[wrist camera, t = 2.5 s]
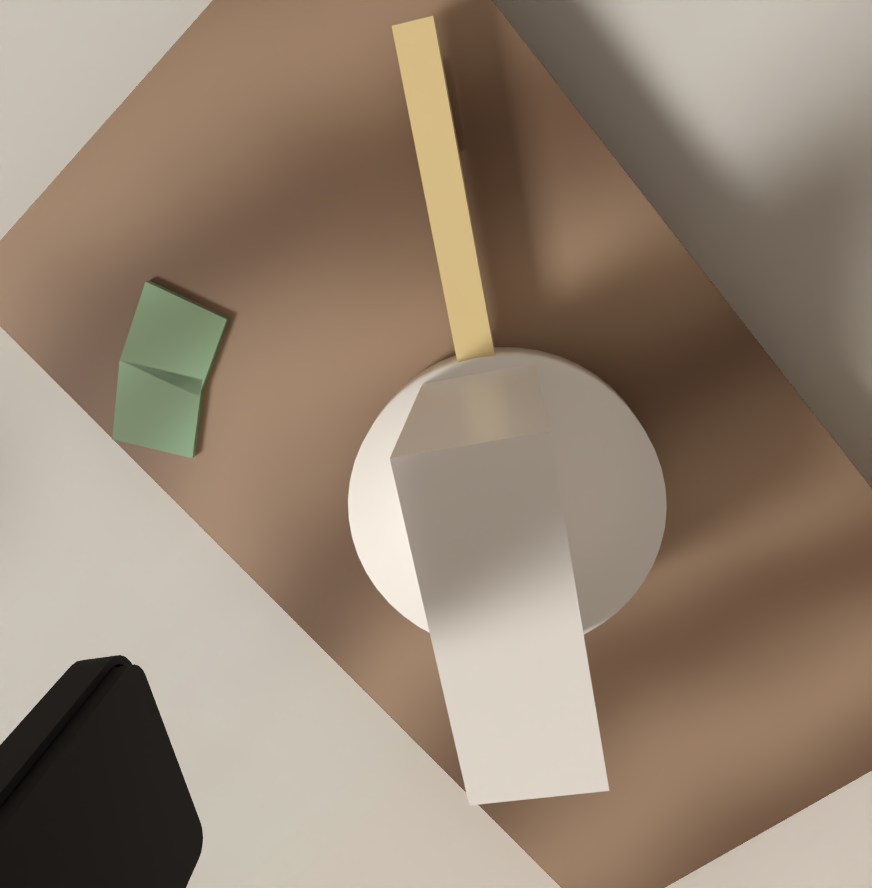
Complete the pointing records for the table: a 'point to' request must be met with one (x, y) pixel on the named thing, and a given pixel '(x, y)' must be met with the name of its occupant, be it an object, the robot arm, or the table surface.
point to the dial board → (430, 341)
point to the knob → (502, 505)
